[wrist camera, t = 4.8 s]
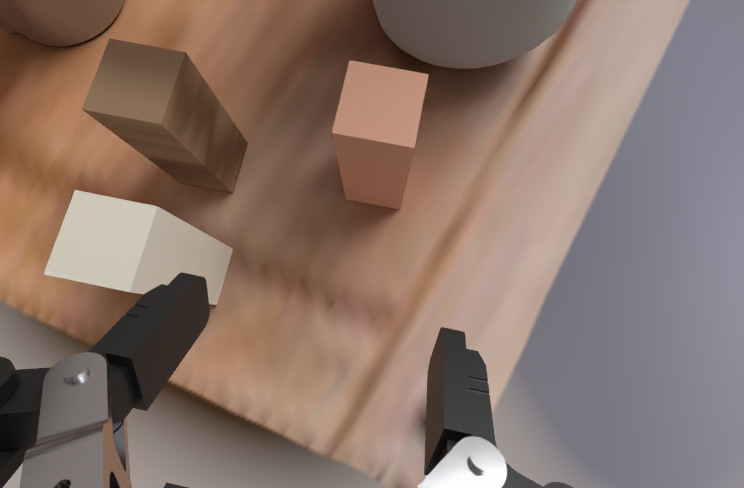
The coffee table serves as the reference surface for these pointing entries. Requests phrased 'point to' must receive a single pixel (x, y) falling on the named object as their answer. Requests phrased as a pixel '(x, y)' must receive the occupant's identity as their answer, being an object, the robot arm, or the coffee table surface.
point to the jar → (470, 28)
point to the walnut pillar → (166, 114)
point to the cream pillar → (133, 247)
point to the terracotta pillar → (377, 131)
